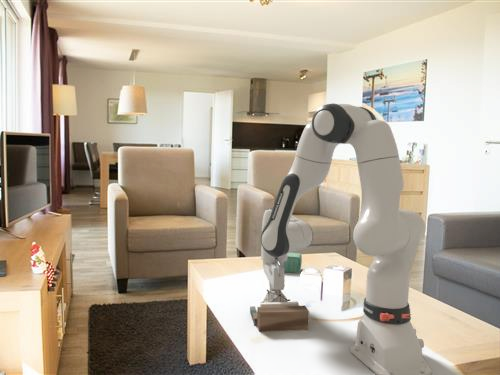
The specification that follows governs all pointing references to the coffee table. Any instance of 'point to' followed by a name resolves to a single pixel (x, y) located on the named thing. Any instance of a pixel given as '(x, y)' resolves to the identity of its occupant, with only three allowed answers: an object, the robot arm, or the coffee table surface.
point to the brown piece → (280, 318)
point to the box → (293, 263)
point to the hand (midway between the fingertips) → (272, 293)
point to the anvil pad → (278, 304)
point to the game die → (275, 296)
